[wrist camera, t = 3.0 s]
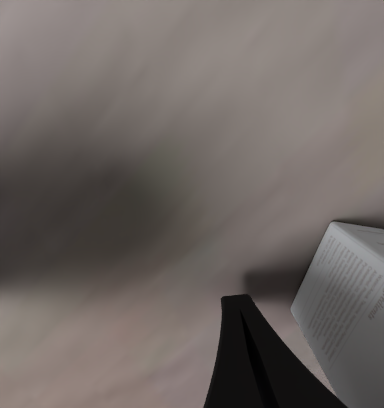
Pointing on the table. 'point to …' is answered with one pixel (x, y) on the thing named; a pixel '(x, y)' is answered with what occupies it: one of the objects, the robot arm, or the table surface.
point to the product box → (347, 312)
